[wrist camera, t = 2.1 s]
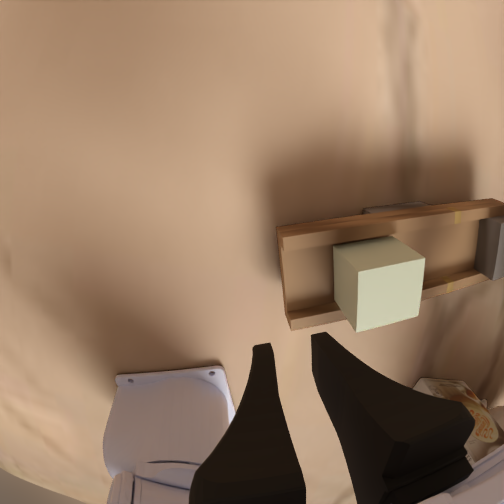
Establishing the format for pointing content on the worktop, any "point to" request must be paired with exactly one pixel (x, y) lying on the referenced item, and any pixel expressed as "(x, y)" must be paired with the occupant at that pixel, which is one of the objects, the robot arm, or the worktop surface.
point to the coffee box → (486, 428)
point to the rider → (377, 282)
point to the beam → (405, 230)
